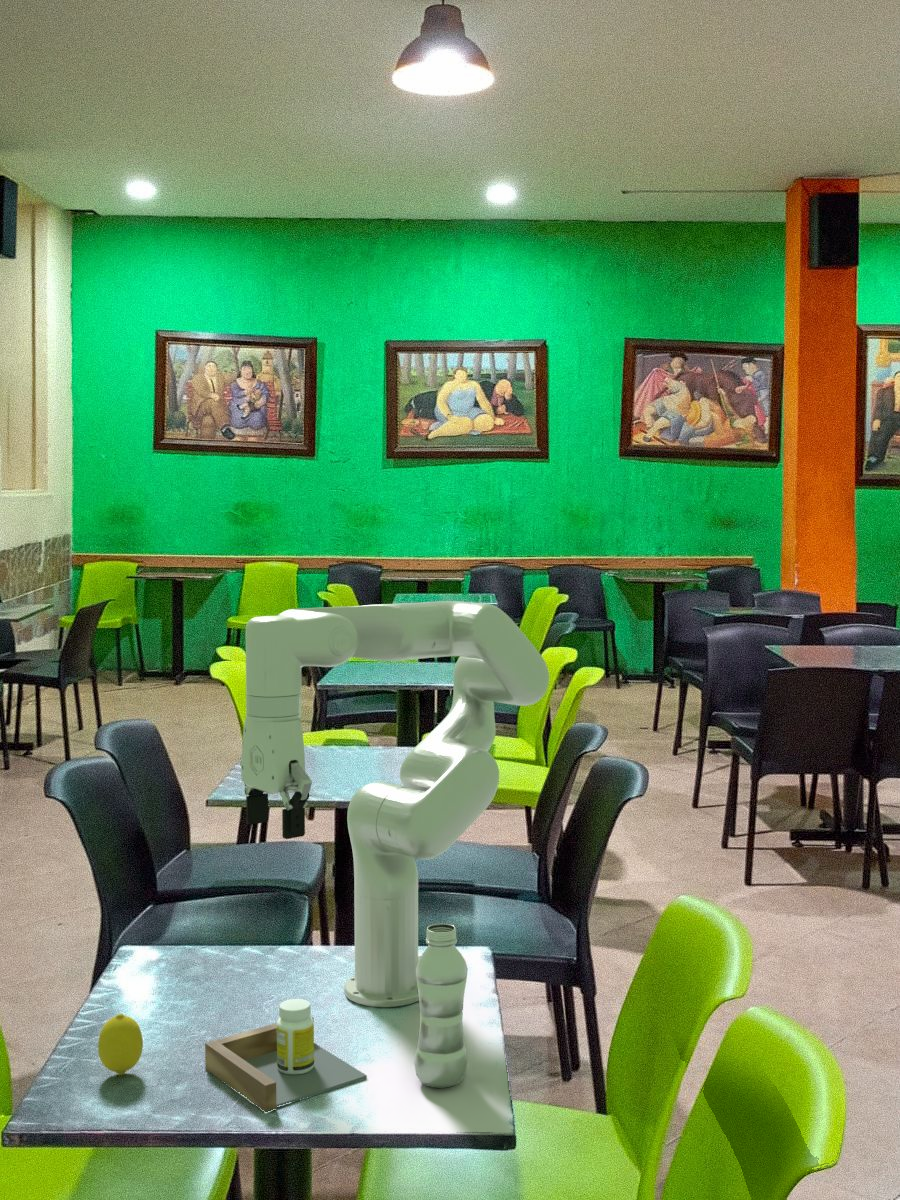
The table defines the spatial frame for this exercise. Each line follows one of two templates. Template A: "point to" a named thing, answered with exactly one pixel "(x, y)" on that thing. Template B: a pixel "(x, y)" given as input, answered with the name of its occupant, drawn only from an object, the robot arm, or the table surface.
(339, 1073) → the mat
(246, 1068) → the corner walls
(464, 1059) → the plastic bottle
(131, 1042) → the lemon
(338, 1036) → the table surface
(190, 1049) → the table surface
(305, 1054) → the supplement bottle
